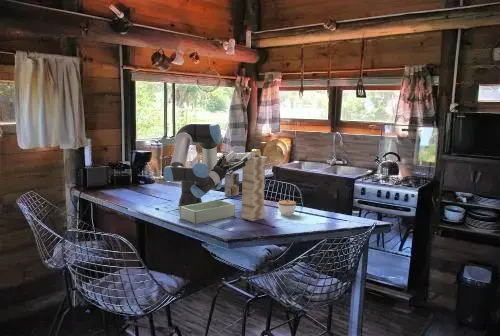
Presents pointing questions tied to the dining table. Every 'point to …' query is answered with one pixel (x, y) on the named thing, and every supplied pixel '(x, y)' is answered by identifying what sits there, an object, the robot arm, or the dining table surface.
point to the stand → (253, 188)
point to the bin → (207, 211)
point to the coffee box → (232, 184)
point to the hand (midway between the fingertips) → (241, 153)
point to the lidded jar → (287, 207)
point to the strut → (253, 154)
